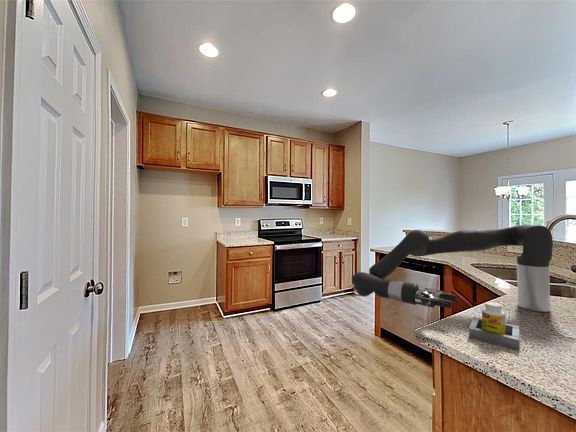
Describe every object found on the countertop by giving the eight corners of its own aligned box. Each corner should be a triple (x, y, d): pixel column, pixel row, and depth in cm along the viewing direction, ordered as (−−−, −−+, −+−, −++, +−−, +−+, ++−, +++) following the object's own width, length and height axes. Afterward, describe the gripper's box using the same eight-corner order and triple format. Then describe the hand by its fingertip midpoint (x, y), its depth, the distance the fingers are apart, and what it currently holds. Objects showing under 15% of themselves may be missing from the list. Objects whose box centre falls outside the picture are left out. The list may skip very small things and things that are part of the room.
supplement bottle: (478, 334, 79) (477, 302, 79) (489, 331, 81) (488, 299, 81) (499, 342, 74) (498, 308, 74) (509, 338, 76) (509, 305, 76)
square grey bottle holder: (473, 325, 86) (473, 316, 86) (519, 335, 78) (519, 326, 78) (469, 337, 77) (469, 328, 77) (519, 350, 69) (519, 340, 69)
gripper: (396, 286, 90) (450, 295, 79) (409, 278, 100) (457, 286, 89) (396, 307, 90) (450, 319, 79) (409, 297, 100) (457, 307, 89)
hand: (454, 301), depth 84 cm, fingers open, 8 cm apart
